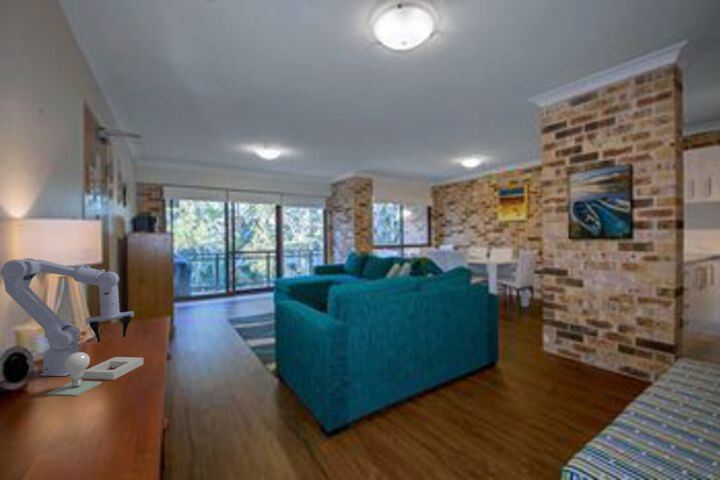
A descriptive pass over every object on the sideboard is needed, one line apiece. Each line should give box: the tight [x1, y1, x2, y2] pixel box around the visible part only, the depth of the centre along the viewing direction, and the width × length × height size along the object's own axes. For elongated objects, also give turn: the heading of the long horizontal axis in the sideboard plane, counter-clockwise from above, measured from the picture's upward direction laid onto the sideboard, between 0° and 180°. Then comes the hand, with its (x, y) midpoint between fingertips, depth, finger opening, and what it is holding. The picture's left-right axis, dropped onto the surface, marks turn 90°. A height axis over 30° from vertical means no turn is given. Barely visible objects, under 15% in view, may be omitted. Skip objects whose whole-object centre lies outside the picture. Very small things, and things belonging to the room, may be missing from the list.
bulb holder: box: [82, 356, 144, 381], centre depth 119 cm, size 12×14×2 cm
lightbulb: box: [64, 351, 91, 387], centre depth 106 cm, size 6×6×11 cm
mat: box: [46, 380, 103, 397], centre depth 105 cm, size 10×9×1 cm
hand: (111, 338), depth 123 cm, fingers open, 7 cm apart
